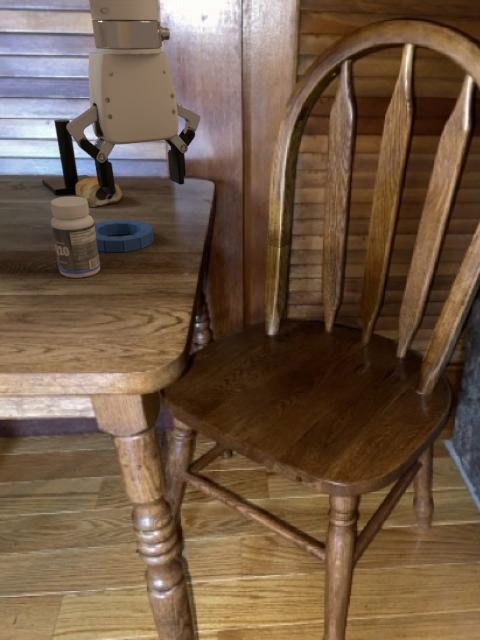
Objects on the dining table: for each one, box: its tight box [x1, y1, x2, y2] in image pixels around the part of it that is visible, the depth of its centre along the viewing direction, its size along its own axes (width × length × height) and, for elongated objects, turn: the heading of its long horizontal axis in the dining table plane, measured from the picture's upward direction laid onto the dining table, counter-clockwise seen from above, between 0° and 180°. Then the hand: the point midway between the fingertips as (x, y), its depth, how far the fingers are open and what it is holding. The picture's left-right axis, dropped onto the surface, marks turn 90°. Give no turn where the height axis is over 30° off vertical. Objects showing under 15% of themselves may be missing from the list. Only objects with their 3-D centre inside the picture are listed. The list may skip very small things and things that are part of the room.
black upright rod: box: [41, 118, 92, 196], centre depth 98 cm, size 8×8×11 cm
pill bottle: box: [50, 195, 101, 279], centre depth 66 cm, size 5×5×8 cm
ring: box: [94, 219, 155, 253], centre depth 77 cm, size 9×9×2 cm
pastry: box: [75, 176, 123, 208], centre depth 94 cm, size 9×7×4 cm
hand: (144, 187), depth 76 cm, fingers open, 9 cm apart
